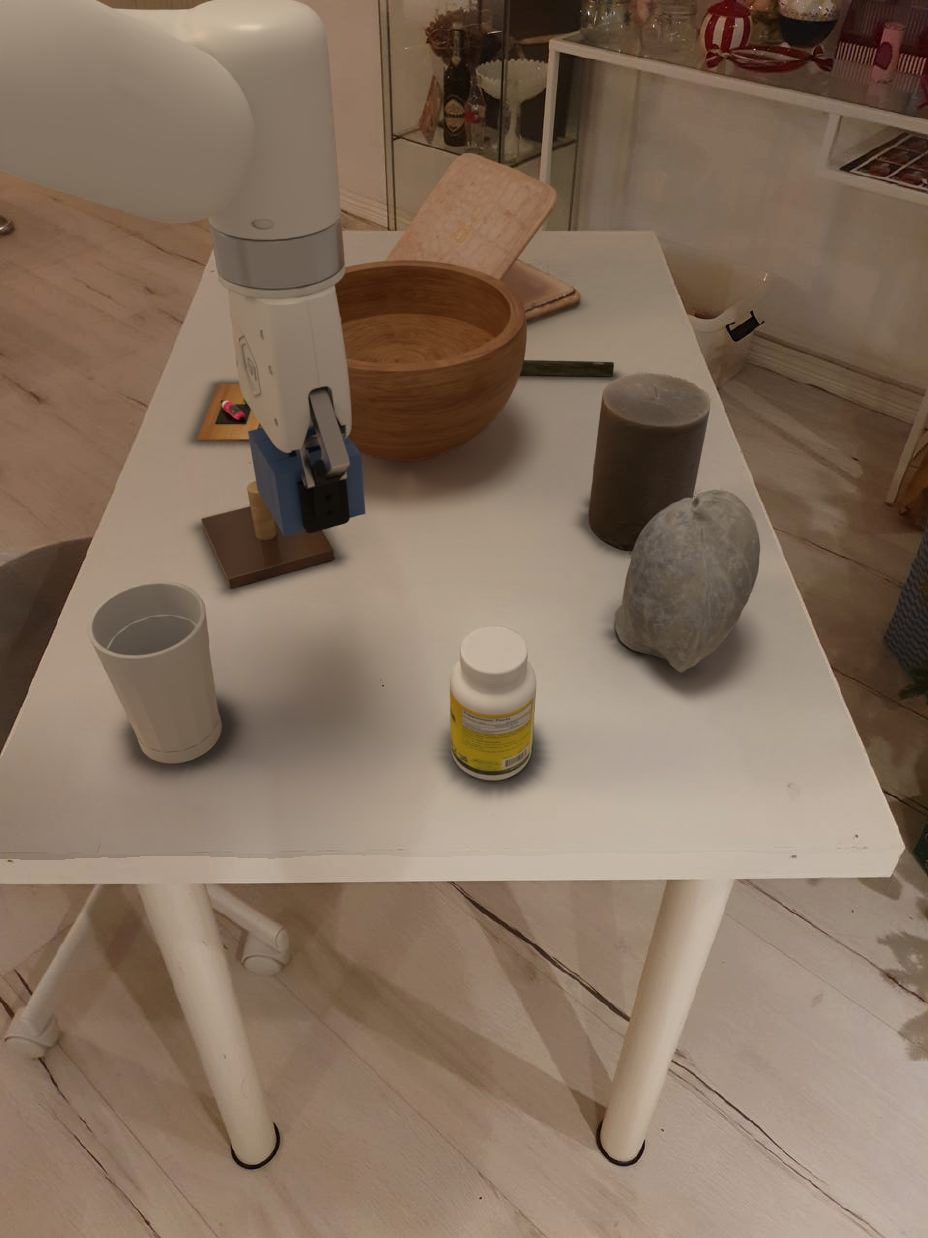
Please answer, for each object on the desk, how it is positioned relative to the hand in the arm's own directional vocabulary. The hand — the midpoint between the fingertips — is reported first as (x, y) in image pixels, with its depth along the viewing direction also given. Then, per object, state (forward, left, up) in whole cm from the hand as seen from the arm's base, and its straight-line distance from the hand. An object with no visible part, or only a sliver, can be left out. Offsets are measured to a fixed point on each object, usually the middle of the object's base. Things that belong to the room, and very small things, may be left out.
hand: (310, 498), depth 69 cm
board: (+4, +44, -18) cm, 47 cm away
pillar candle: (+34, +7, -18) cm, 39 cm away
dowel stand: (0, +19, -17) cm, 25 cm away
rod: (+33, +40, -18) cm, 54 cm away
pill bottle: (+8, -13, -18) cm, 24 cm away
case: (+42, +59, -18) cm, 74 cm away
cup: (-13, -1, -18) cm, 22 cm away
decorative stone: (+28, -8, -18) cm, 34 cm away
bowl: (+19, +30, -18) cm, 39 cm away
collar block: (0, 0, 0) cm, 0 cm away
